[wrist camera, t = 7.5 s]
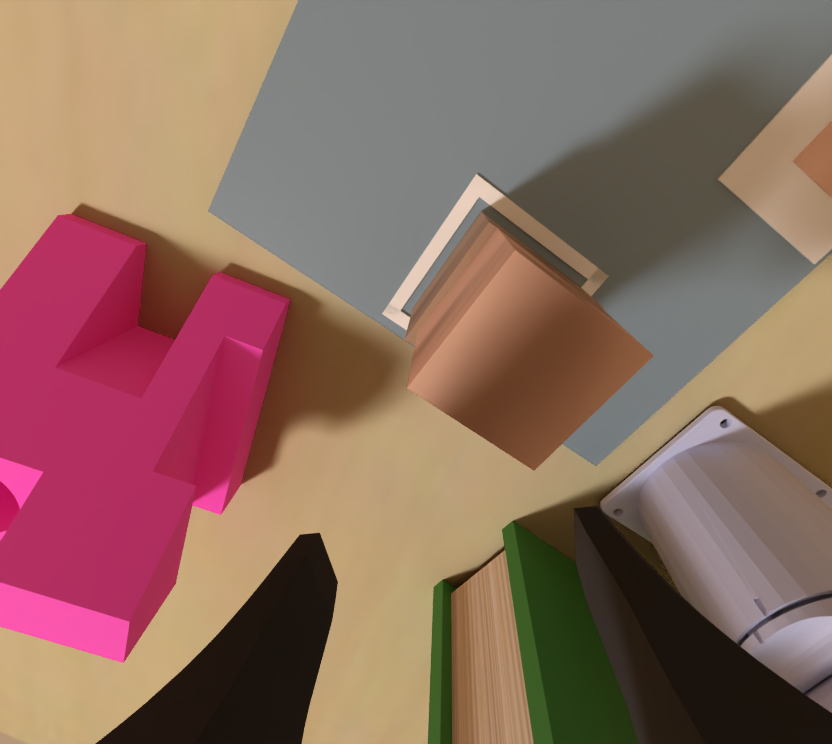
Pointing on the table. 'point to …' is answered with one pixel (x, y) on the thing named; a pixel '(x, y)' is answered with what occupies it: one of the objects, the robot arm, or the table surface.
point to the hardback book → (522, 656)
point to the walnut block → (456, 266)
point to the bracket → (115, 432)
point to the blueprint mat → (552, 160)
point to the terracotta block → (520, 353)
